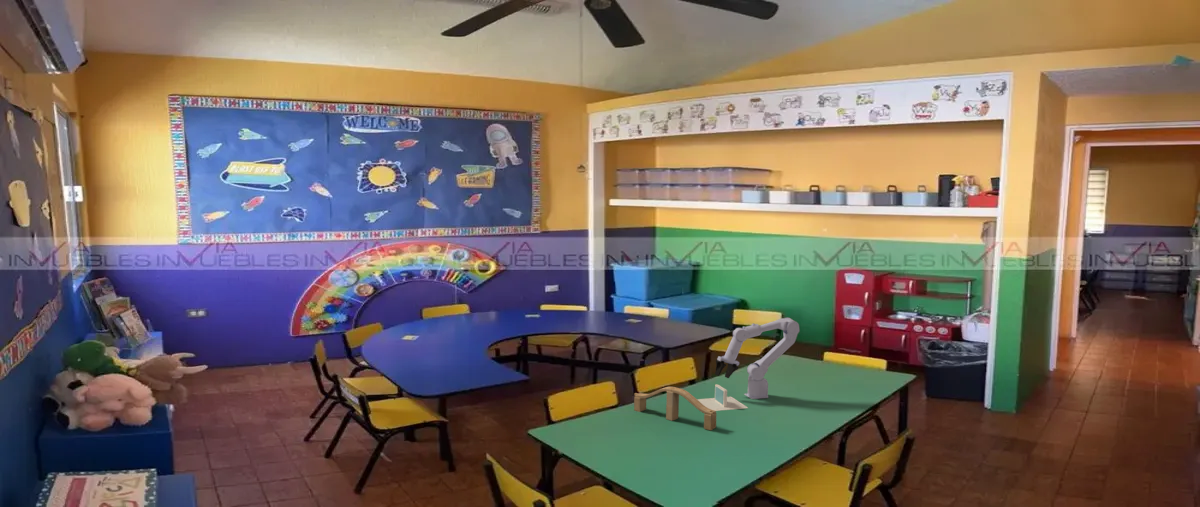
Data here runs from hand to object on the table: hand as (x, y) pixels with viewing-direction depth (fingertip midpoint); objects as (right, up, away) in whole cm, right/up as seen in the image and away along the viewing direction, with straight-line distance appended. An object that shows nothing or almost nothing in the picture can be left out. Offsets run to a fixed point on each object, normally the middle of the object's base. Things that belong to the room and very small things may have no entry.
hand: (721, 376), depth 351 cm
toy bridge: (-28, -14, -31) cm, 44 cm away
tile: (-2, -11, -11) cm, 16 cm away
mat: (-3, -12, -11) cm, 16 cm away
